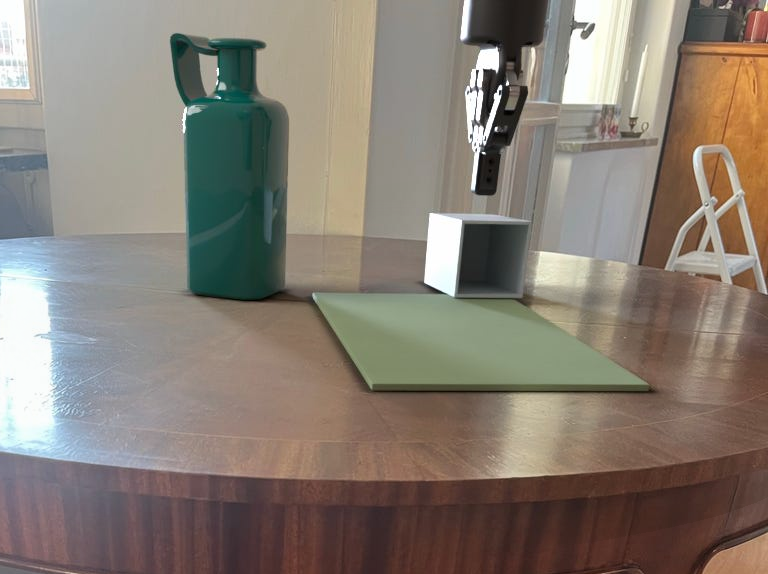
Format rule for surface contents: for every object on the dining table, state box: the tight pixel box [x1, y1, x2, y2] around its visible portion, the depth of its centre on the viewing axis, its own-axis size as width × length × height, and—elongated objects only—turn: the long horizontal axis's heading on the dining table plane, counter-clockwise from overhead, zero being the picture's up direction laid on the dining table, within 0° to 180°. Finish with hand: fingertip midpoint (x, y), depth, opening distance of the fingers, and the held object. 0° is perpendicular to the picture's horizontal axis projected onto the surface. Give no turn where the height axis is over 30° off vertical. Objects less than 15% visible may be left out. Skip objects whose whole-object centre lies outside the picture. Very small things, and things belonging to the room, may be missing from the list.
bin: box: [423, 212, 533, 299], centre depth 98 cm, size 7×7×12 cm
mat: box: [312, 292, 651, 392], centre depth 81 cm, size 20×34×1 cm, turn 6°
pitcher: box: [169, 32, 290, 301], centre depth 91 cm, size 10×8×22 cm
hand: (483, 194), depth 95 cm, fingers closed
